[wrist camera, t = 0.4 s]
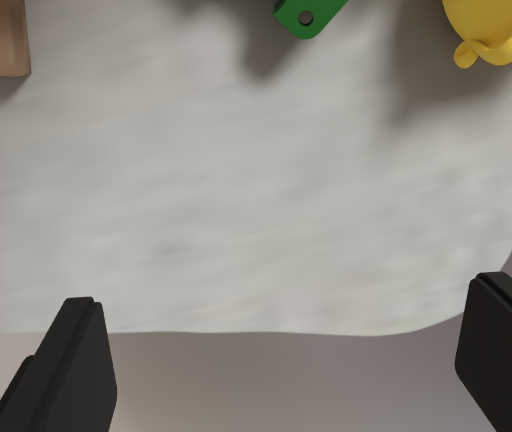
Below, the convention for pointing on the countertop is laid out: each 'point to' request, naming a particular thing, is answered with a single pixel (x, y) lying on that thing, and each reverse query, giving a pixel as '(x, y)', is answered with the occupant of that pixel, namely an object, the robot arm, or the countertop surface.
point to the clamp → (318, 3)
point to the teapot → (481, 30)
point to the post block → (13, 39)
